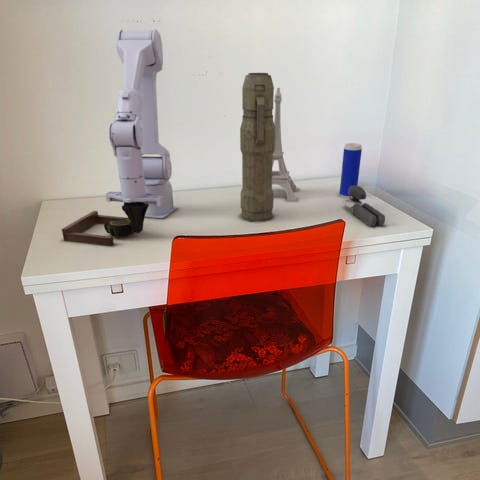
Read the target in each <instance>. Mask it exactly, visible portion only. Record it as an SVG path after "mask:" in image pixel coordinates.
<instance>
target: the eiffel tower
mask: <svg viewBox="0 0 480 480" xmlns="http://www.w3.org/2000/svg"><path fill="white" fill-rule="evenodd" d="M282 100H283V99H282V93H281V88H280V87H277V88H276V93H275V94H274V99H273V102H274V104H275V108H274V111H275V112H274V120H273V122H274V125H275V150H274V152H273V160H272V168H274V163H275V161H277V164H278V170H272V186H273V185H277V186H279V187H281V188H282V189H283V190H284V192H285V193H286V197H287V198H286V201H287V202H297V197H296V195H295V193H294V192H298V187H297V185H296V184H295V182H294V180H293V178H292V177H291V175H290V170H288V169H287V166H286V164H285V163H286V162H285V160H284V155H285V154H284V153H285V152H284V151H283V148H282V145H283V144H282V128H281V103H282Z"/></svg>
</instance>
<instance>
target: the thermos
mask: <svg viewBox="0 0 480 480" xmlns="http://www.w3.org/2000/svg"><path fill="white" fill-rule="evenodd" d="M241 89H242V92H241V93H242V94H241V95H242V96H241V97H242V103H241V104H242V105H241V106H242V112H243V113H242V121H241V125H240V127H239V140H240V141H239V145H240V146H239V147H240V148H239V150H240V152H241V155H242V156H241V159H242V160H241V163H242V165H241V169H242V170H241V172H242V173H241V175H242V178H241V183H242V184H241V185H242V188H241V190H240V210H241V213H240V217H241V218H242V219H243V220H244V221H247V222H255V223H260V222H267V221H269V220H272V219H273V209H274V198H275V197H274V191H273V185H272V171H273V167H272V160H273V152H274V150H275V125H274V115H273V110H274V100H275V94H274V93H275V92H274V91H275V87H274V81H273V79H272V75H271V74H269V73H268V72H248V74H246V75H245V77H244V80H243V84H242V87H241Z"/></svg>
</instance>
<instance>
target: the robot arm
mask: <svg viewBox="0 0 480 480" xmlns="http://www.w3.org/2000/svg"><path fill="white" fill-rule="evenodd" d="M115 46H116V52H117V54H118V56H119V59H120V61H121V63H122V64H123V69H122V71H123V72H122V73H123V74H122V75H123V76H122V77H123V78H122V79H123V81H122V82H123V83H122V89H121V90H119V92H118V93H117V96H116V105H115V114H114V121H113V122H112V123H110V124H109V127H108V138H109V143H110V146H111V147H112V151H113V156H114V157H116V164H117V171H118V178H119V184H120V191H108V192H106V193H105V194H104V196H105V200H106V201H105V202H107V203H111V202H119V203H123V205H122V206H121V210H122V211H123V212H124V213H125V215H126V217H127V218H129V220H130V222H131V224H132V226H133V229H134V231H135V233H134V234H140V233H142V232H143V231H144V222H145V218H153V219H162V220H163V219H166V217H168V216H169V215H170V214H172V213H173V212H174V211H175V210H177V207H178V206H175V205H174V194H173V186H172V184H171V182H170V179H171V178H172V173H173V172H172V171H173V170H172V161H171V154H170V151H169V149H167V148H166V147H165V146H163V145H162V144H161V143H160V141H159V117H158V115H159V114H158V95H157V94H158V93H157V78H158V77H157V75H158V73H160V72H161V71H163V65H164V55H163V54H164V53H163V42H162V37H161V34H160V32H159V31H158V29H149V30H145V29H144V30H141V29H140V30H123V29H120V30H118V31H117V33H116V36H115ZM144 155H147V156H144ZM148 155H149V156H148ZM151 155H158V156H151Z"/></svg>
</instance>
